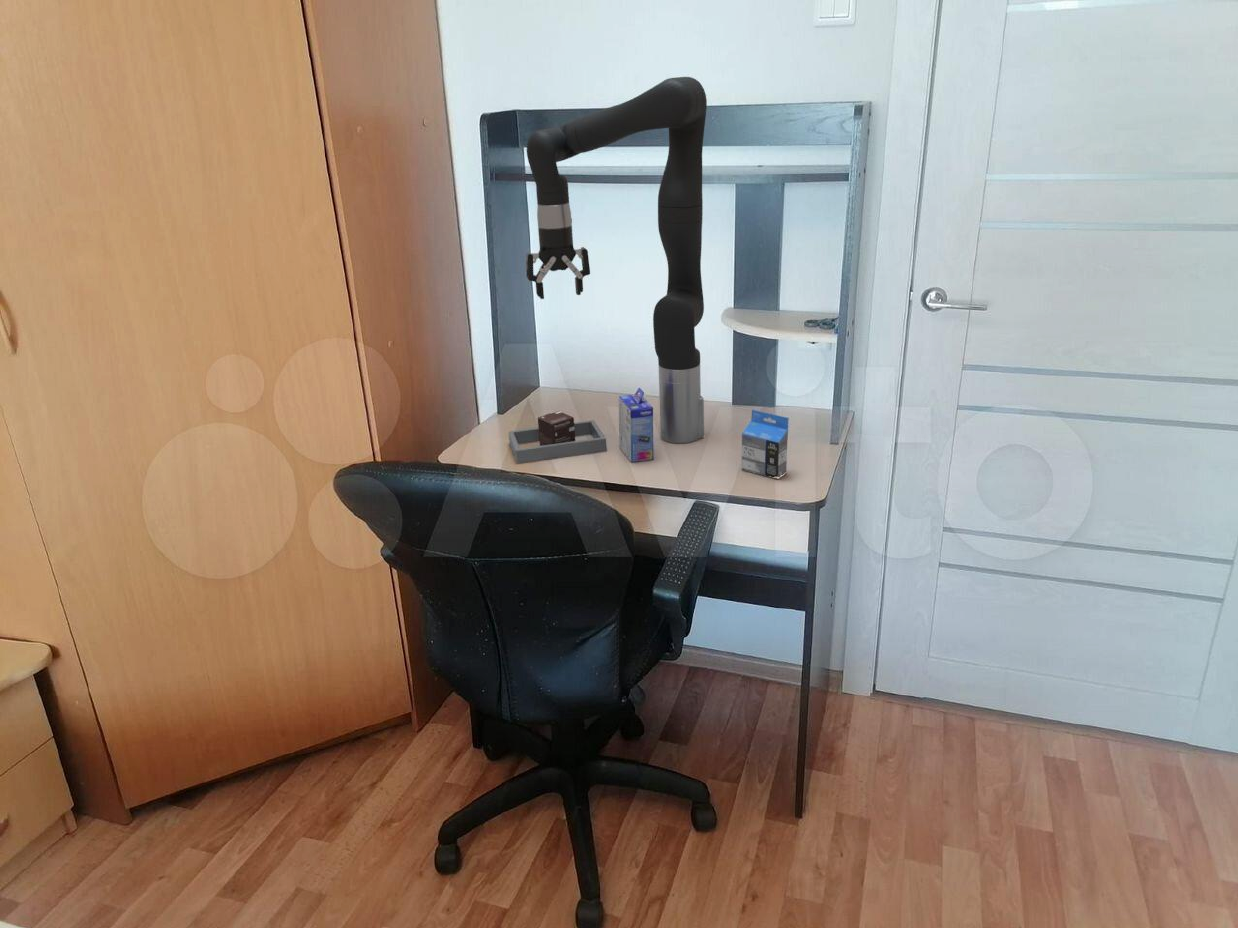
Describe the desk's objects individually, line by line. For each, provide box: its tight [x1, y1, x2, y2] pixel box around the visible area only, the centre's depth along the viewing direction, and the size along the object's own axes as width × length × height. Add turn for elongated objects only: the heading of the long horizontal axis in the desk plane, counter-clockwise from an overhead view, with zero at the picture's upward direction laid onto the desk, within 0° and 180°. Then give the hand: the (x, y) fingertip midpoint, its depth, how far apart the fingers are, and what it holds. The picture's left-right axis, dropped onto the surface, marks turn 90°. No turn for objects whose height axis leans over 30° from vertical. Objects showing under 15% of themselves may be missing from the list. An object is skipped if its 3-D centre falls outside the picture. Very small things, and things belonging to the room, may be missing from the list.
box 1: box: [537, 410, 576, 446], centre depth 203 cm, size 6×6×7 cm
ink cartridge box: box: [618, 387, 655, 463], centre depth 196 cm, size 10×6×14 cm, turn 16°
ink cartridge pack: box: [741, 409, 789, 477], centre depth 185 cm, size 9×4×12 cm, turn 51°
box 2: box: [507, 419, 608, 464], centre depth 203 cm, size 20×12×3 cm, turn 104°
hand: (560, 296), depth 208 cm, fingers open, 8 cm apart
